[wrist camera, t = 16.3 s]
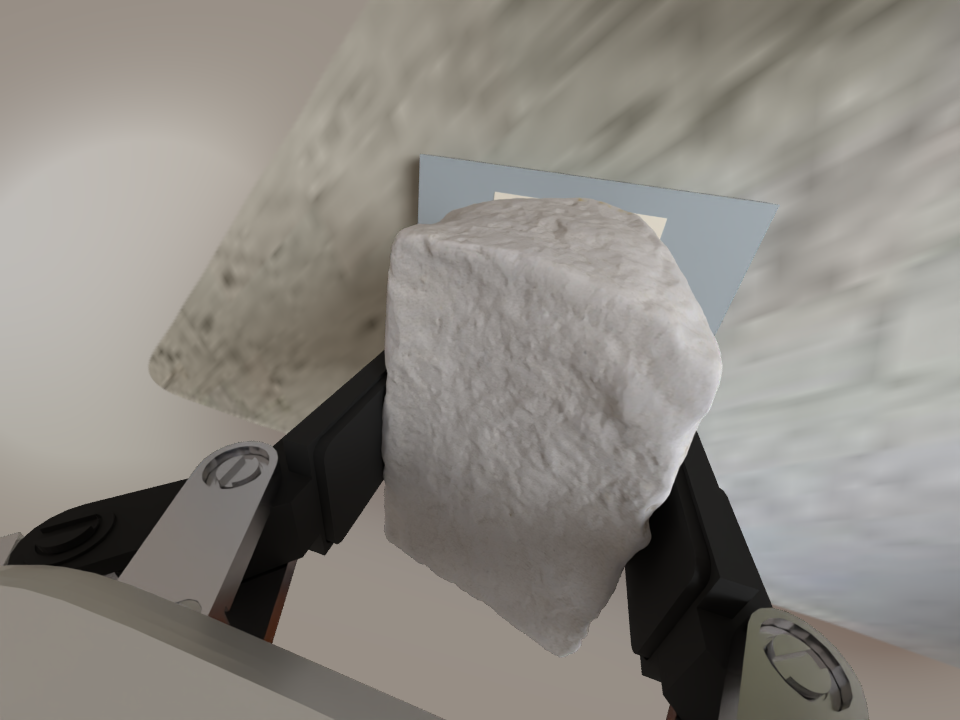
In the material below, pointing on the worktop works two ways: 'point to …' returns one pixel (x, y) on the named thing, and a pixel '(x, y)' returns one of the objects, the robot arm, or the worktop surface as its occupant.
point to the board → (670, 213)
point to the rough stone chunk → (537, 402)
